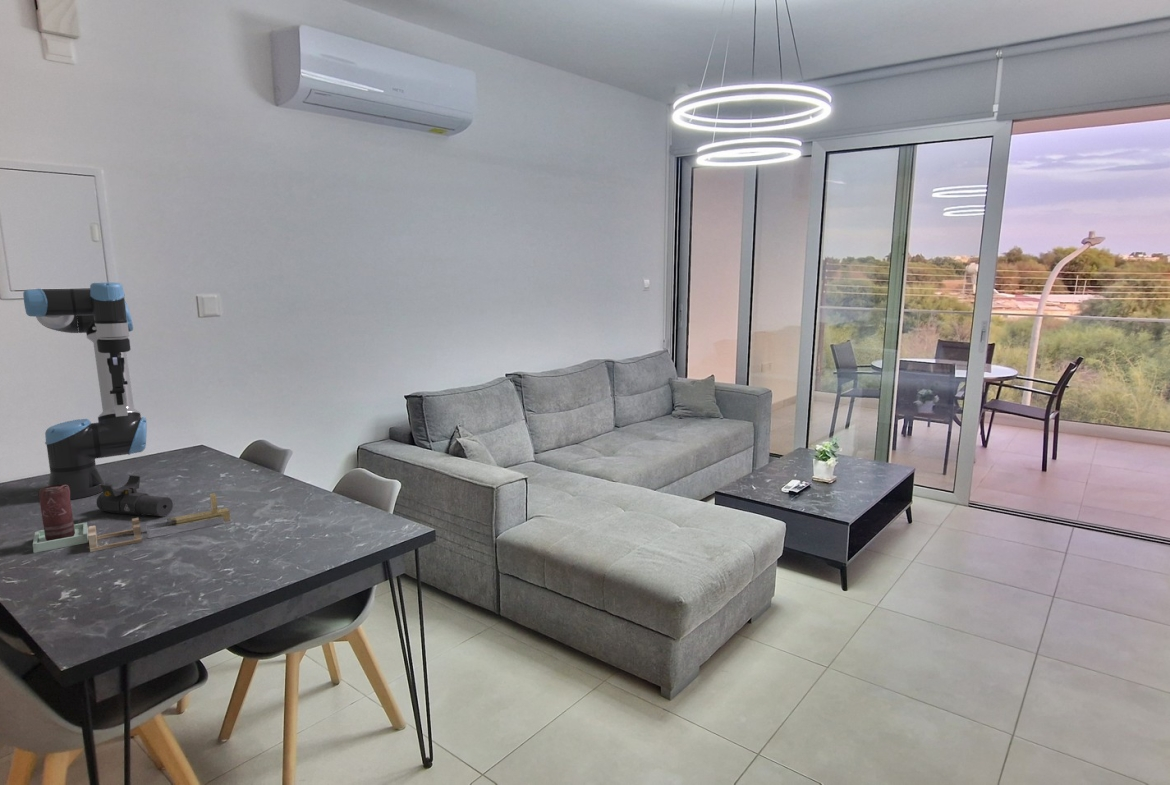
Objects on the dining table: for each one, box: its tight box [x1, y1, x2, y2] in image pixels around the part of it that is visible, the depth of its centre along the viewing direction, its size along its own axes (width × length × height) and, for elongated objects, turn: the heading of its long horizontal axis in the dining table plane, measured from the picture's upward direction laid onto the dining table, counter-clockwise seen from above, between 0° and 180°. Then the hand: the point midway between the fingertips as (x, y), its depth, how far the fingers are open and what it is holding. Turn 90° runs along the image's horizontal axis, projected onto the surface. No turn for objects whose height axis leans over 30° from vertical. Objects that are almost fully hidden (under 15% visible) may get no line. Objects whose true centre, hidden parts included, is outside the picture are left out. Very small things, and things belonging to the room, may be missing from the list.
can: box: [38, 485, 75, 541], centre depth 171 cm, size 6×6×14 cm
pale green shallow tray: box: [32, 521, 89, 554], centre depth 173 cm, size 11×11×2 cm
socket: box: [88, 517, 143, 553], centre depth 172 cm, size 10×11×4 cm
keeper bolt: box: [166, 492, 231, 526], centre depth 184 cm, size 3×15×8 cm, turn 127°
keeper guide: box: [145, 516, 225, 539], centre depth 182 cm, size 6×18×2 cm, turn 127°
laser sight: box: [96, 474, 174, 517], centre depth 193 cm, size 10×22×10 cm, turn 77°
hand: (122, 411), depth 187 cm, fingers open, 13 cm apart
